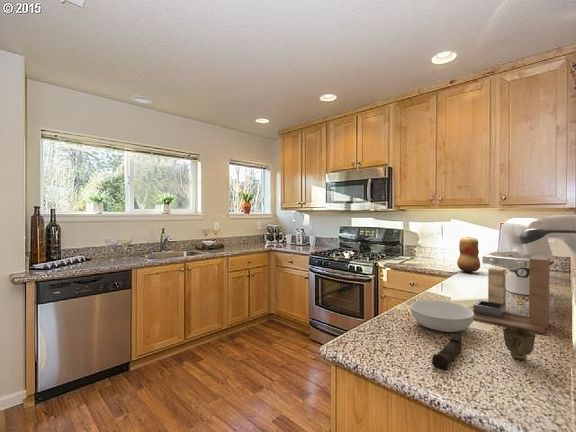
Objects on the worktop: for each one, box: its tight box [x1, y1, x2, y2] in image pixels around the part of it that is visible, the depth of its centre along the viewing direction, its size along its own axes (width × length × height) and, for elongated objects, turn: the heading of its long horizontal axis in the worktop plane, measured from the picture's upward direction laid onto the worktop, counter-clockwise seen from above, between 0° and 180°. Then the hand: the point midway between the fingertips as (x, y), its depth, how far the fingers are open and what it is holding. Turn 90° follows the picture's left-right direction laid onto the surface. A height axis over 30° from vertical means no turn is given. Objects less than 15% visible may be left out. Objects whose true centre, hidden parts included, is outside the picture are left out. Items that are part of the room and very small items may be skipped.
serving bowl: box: [409, 299, 474, 333], centre depth 111 cm, size 21×21×7 cm
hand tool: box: [431, 334, 463, 371], centre depth 87 cm, size 19×4×5 cm, turn 133°
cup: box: [502, 326, 537, 361], centre depth 87 cm, size 8×7×8 cm
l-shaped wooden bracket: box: [468, 256, 550, 336], centre depth 117 cm, size 16×26×25 cm, turn 46°
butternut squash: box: [456, 236, 481, 274], centre depth 212 cm, size 14×13×25 cm
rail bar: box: [487, 266, 507, 305], centre depth 129 cm, size 5×5×18 cm
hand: (504, 263), depth 133 cm, fingers open, 8 cm apart
